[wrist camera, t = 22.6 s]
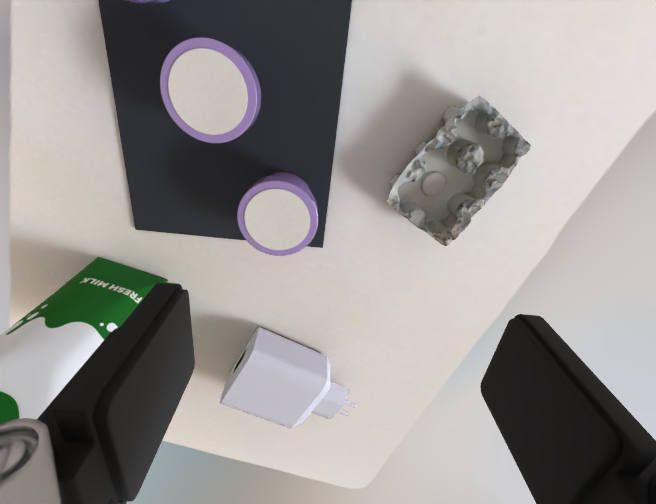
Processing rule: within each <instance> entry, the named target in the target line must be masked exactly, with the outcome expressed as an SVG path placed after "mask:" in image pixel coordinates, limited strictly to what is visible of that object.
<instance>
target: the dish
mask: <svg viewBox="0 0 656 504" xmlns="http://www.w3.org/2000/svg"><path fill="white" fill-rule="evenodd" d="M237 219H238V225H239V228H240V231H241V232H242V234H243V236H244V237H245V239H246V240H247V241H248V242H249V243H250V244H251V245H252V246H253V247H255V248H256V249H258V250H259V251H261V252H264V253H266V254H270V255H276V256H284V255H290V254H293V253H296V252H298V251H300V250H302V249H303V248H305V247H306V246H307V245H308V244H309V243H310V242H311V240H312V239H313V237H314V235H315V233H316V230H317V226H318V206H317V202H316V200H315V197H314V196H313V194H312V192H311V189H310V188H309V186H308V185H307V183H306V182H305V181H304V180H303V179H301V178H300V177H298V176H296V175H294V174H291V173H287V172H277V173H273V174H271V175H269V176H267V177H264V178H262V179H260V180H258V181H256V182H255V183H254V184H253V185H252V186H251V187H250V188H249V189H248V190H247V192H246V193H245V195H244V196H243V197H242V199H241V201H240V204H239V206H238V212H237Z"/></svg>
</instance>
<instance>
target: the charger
mask: <svg viewBox="0 0 656 504" xmlns="http://www.w3.org/2000/svg"><path fill="white" fill-rule="evenodd" d="M349 391H350V389H348V388H346V387H344V386H342V385H339V384H337V383H334V382H332V381H330V364H329V361H328V358H327V356H326V355H323V354H321V353H319V352H316V351H314V350H312V349H309V348H307V347H305V346H302V345H300V344H298V343H295V342H293V341H291V340H288V339H286V338H284V337H281V336H279V335H277V334H274V333H272V332H270V331H267V330H265V329H263V328H261V327H258V328H257V330H256V331H255V333H254V334H253V336H252V338H251V339H250V341H249V342H248V344H247V346H246V347H245V349H244V350H243V352H242V354H241V355H240V357H239V358H238V360H237V362H236V363H235V365H234V366H233V368H232V370H231V372H230V374H229V376H228V378H227V381H226V384H225V387H224V390H223V393H222V396H221V399H220V404H223V405H226V406H229V407H232V408H234V409H237V410H240V411H243V412H246V413H248V414H251V415H254V416H257V417H259V418H262V419H265V420H268V421H271V422H273V423H276V424H279V425H282V426H284V427H287V428H292V427H295V426H298V425H300V424H302V422H303V421H304V420H305V419H306V418H307V417H308V415H309V414H310V413H313V414H316V415H318V416H321V417H324V418H326V419H328V418H332V417H333V416H334V415H335V414H336V413H337V412H338V413H341V414H344V415H346V416H348V415H349V412H347V411H345V410H342V409H340V408H341V407H342V406H343V405H344V404H346V405H349V406H352V407H354V408H355V407H356V406H357V404H355V403H353V402H350V401H348V400H346V399H347V396H348V394H349Z"/></svg>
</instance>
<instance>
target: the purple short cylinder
mask: <svg viewBox="0 0 656 504" xmlns="http://www.w3.org/2000/svg"><path fill="white" fill-rule="evenodd" d="M124 1H127V2H132V3H146V2H151V3H164V2H168V1H170V0H124Z"/></svg>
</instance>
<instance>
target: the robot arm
mask: <svg viewBox="0 0 656 504" xmlns="http://www.w3.org/2000/svg"><path fill="white" fill-rule="evenodd" d="M194 363H195V359H194V348H193V337H192V327H191V316H190V305H189V294H188V291H187V290H182V286H181V285H180V284H174V283H163V282H158V283H157V284H155V285H154V287H153V288H152V289H151V290H150V291H149V293H148V294H147V295H146V296H145V298H144V299H143V300H142V301H141V302H140V304H139V305H138V306H137V307H136V308H135V310H134V311H133V312H132V313H131V314H130V316H129V317H128V318H127V319H126V320H125V322H124V323H123V324H122V325H121V326H120V328H116V329H114V330H113V331H112V332H111V333H110V334H109V335H108V336H107V337H106V339H105V340H104V341H103V342H102V343H101V344H100V346H99V347H98V348H97V349H96V350H95V351H94V353H93V354H92V355H91V356H90V357H89V359H88V360H87V361H86V362H85V363H84V364H83V366H82V367H81V368H80V369H79V370H78V371H77V373H76V374H75V375H74V376H73V377H72V379H71V380H70V381H69V382H68V383H67V384H66V386H65V387H64V388H63V389H62V390H61V391H60V393H59V394H58V395H57V396H56V397H55V399H54V400H53V401H52V402H51V403H50V404H49V406H48V407H47V408H46V409H45V410H44V411H43V413H42V414H41V415H40V416H39V417H38V419H30V418H22V419H14V420H10V421H6V422H3V423H0V504H126V502H127V501H133V500H134V499H135V497H136V496H137V494H138V492H139V490H140V488H141V486H142V483H143V481H144V479H145V477H146V474H147V473H148V470H149V468H150V466H151V464H152V462H153V459H154V457H155V455H156V453H157V450H158V448H159V446H160V444H161V442H162V439H163V437H164V435H165V433H166V431H167V428H168V426H169V424H170V422H171V420H172V417H173V415H174V413H175V411H176V408H177V406H178V404H179V402H180V400H181V397H182V395H183V393H184V391H185V389H186V386H187V384H188V382H189V380H190V377H191V375H192V373H193V369H194ZM481 393H482V396H483V397H484V400H485V402H486V404H487V406H488V408H489V410H490V411H491V414H492V416H493V418H494V420H495V422H496V424H497V426H498V428H499V430H500V432H501V434H502V436H503V438H504V440H505V442H506V444H507V446H508V448H509V450H510V452H511V454H512V456H513V458H514V460H515V462H516V464H517V466H518V468H519V470H520V472H521V474H522V475H523V478H524V480H525V482H526V484H527V486H528V488H529V490H530V492H531V494H532V496H533V497H534V500H535V502H536V504H656V441H655V440H654V439H653V438H652V436H651V435H650V434H649V433H648V432H647V431H646V430H645V429H644V428H643V427H642V425H641V424H640V423H639V422H638V421H637V420H636V419H635V418H634V417H633V416H632V415H631V414H630V412H628V410H627V409H626V408H625V407H624V406H623V405H622V404H621V403H620V402H619V400H617V398H616V397H615V396H614V395H613V394H612V393H611V392H610V391H609V390H608V389H607V387H606V386H605V385H604V384H603V383H602V382H601V381H600V380H599V379H598V378H597V377H596V375H595V374H594V373H593V372H592V371H591V370H590V369H589V368H588V367H587V366H586V365H585V363H584V362H583V361H582V360H581V359H580V358H579V357H578V356H577V355H576V354H575V353H574V351H572V349H571V348H570V347H569V346H568V345H567V344H566V343H565V342H564V341H563V340H562V338H561V337H560V336H559V335H558V334H557V333H556V332H555V331H554V330H553V329H552V328H551V327H550V325H549V324H548V323H547V322H546V321H545V320H544V319H543V318H542V317H540V316H533V315H522V314H519V315H517V316H515V318H514V319H511V320H510V321H509V322H508V324H507V327H506V329H505V331H504V333H503V335H502V338H501V340H500V342H499V344H498V346H497V349H496V351H495V353H494V355H493V358H492V360H491V362H490V364H489V367H488V369H487V371H486V373H485V375H484V378H483V380H482V382H481Z"/></svg>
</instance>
